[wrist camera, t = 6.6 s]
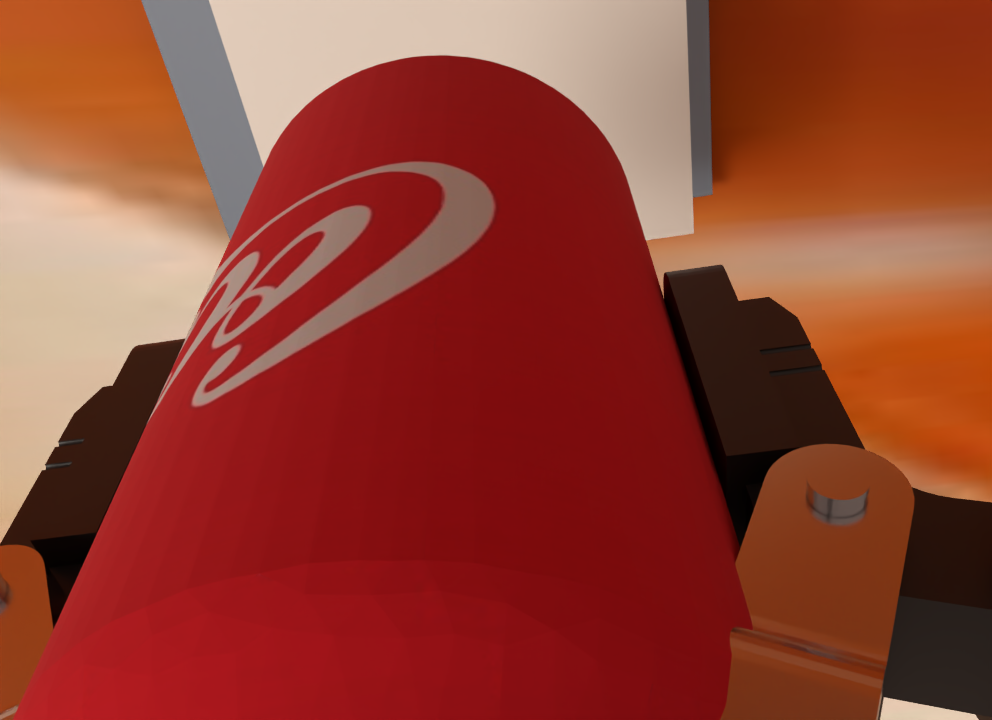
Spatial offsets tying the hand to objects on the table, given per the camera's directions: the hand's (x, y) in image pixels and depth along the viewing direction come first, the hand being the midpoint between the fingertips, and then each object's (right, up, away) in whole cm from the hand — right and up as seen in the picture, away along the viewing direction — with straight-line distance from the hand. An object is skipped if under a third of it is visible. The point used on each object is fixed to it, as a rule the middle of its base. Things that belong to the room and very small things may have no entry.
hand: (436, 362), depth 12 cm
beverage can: (0, +3, +4) cm, 4 cm away
